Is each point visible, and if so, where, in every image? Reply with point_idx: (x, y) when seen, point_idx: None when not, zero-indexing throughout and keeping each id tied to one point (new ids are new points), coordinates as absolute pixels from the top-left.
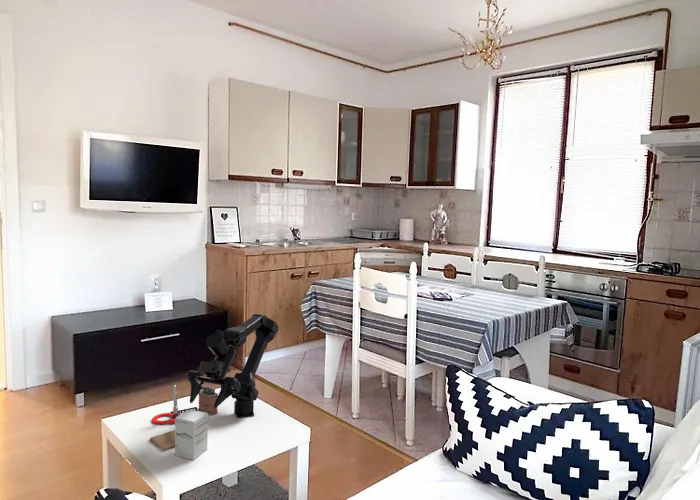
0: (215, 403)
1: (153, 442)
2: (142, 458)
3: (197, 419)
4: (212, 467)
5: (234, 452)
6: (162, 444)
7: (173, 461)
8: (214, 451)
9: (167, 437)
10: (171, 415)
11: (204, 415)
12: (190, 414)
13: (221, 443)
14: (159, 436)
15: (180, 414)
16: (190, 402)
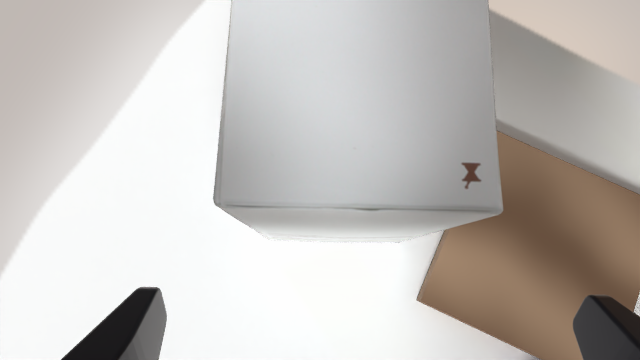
0: (119, 320)
1: (610, 186)
2: (530, 35)
3: (233, 10)
4: (136, 89)
5: (94, 278)
6: (537, 166)
7: None
8: (217, 241)
9: (577, 252)
10: None
11: (222, 134)
12: (383, 76)
13: (230, 350)
14: (630, 244)
15: (490, 41)
16: (588, 297)
